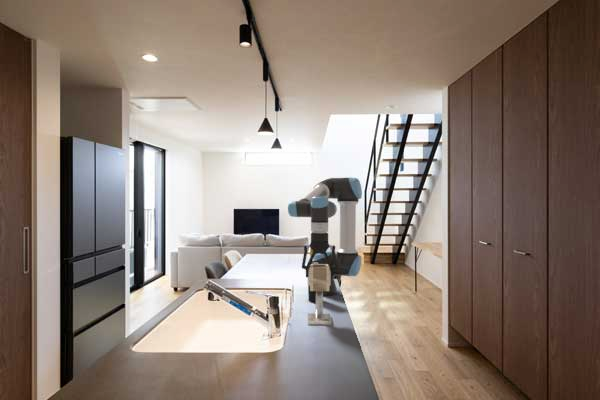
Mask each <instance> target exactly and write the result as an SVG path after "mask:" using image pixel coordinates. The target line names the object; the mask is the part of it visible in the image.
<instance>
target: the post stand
mask: <svg viewBox="0 0 600 400" xmlns="http://www.w3.org/2000/svg"><path fill="white" fill-rule="evenodd" d="M323 307H324V296H323V291H316V303H315V313H307V325H309V326H310V325H312V326H314V325H317V326H318V325H319V326H320V325H322V326H326V325H327V326H329V325H330V326H331V325H332V324H333V323H332V322H333V321H332V316H331V313H324V310H323V309H324V308H323Z"/></svg>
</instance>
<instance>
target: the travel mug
mask: <svg viewBox="0 0 600 400" xmlns="http://www.w3.org/2000/svg"><path fill="white" fill-rule="evenodd" d="M311 264H323V262H320V261H313V260H312V263H311ZM309 269H310V267H309ZM307 290H308V292H307V293H308V302H309V303H315V304H316V291H310V286H309V285H308V284H307Z"/></svg>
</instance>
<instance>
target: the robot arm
mask: <svg viewBox="0 0 600 400" xmlns="http://www.w3.org/2000/svg"><path fill="white" fill-rule="evenodd" d="M362 194H363V190H362V185H361V181H360V180H359V178H357V177H330V178H327V179H324V180H322V181H321V180H320V181H319V182H317V183H316V184H315V185H314V187H313V188H312V190H310V191H309V192H308V193H307V194H305V195H304V196H303V197H301V198H300V199H299V200H293V201H289V203H288V206H287V212H288V215H289V216H290V217H293V218H310V231H311V233H310V244H308V245H307V244H306V245H305V244H304V245H303V249H304V251H303V256H302V262H301V269H303V270H305V277H306V278H307V286H308V285H309V286H310V269H309V267H310V265H311V263H312V261H320V262H323V264H328V265H329V291H323V297H324V296H326V297H328V296H329V297H330V296H333V295H336V294H337V293H338V288H337V285H336V282H335V276H345V277H357V276H358V275H359V274H360V270H361V267H362V256H361V255H360V254H359V251H358V250H357V249H356V220H357V219H356V213H357V212H356V211H357V210H356V209H357V206H356V205H357V204H358V203H359V200H360V199H362ZM329 199H333V200H336V199H337V201H336V202H337V203H338V204H339V248H338V249H337V251H336V246H335V244H334V245H332V244H331V245H330V244H329V233H328V232H329V218H332V217H334V216H335V215H336V214H337V211H338V208H337V204H336V203H334V202H333V201H331V200H329ZM310 248H311V249H312V250H313V252H312V255H311V257H310V256H309V259H308V262H307V256H308V251H310ZM328 249H329V250H328ZM306 262H307V265H306Z"/></svg>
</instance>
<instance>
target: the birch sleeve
mask: <svg viewBox="0 0 600 400" xmlns="http://www.w3.org/2000/svg"><path fill="white" fill-rule="evenodd" d="M310 291H329V265H328V264H311V265H310Z"/></svg>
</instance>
